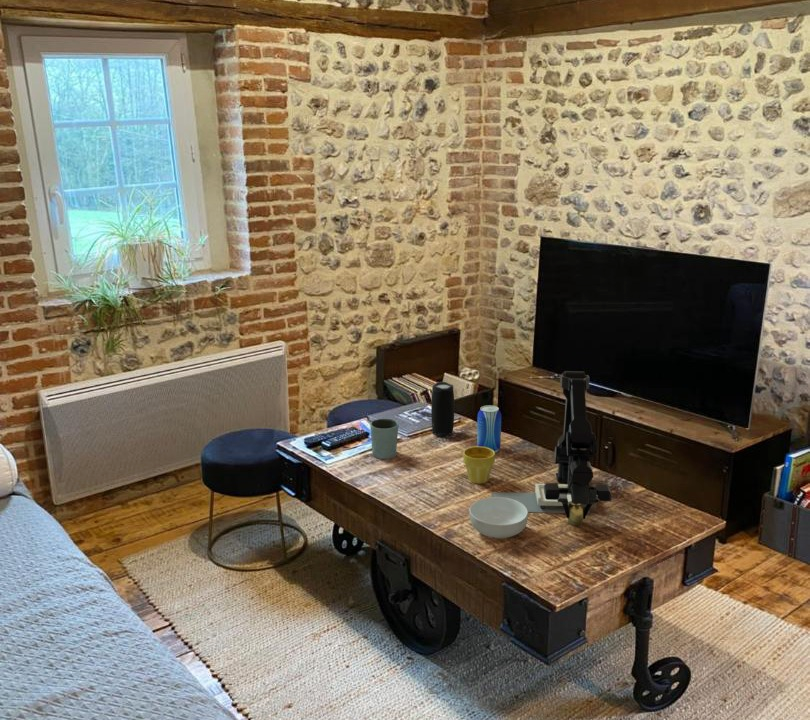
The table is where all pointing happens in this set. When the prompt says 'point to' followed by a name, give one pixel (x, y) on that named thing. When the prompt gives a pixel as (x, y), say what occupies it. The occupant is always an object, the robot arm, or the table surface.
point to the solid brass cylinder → (575, 514)
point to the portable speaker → (442, 409)
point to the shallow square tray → (542, 501)
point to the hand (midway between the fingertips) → (575, 518)
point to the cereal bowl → (498, 516)
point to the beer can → (489, 428)
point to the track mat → (530, 502)
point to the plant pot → (478, 463)
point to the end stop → (593, 508)
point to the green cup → (384, 437)
